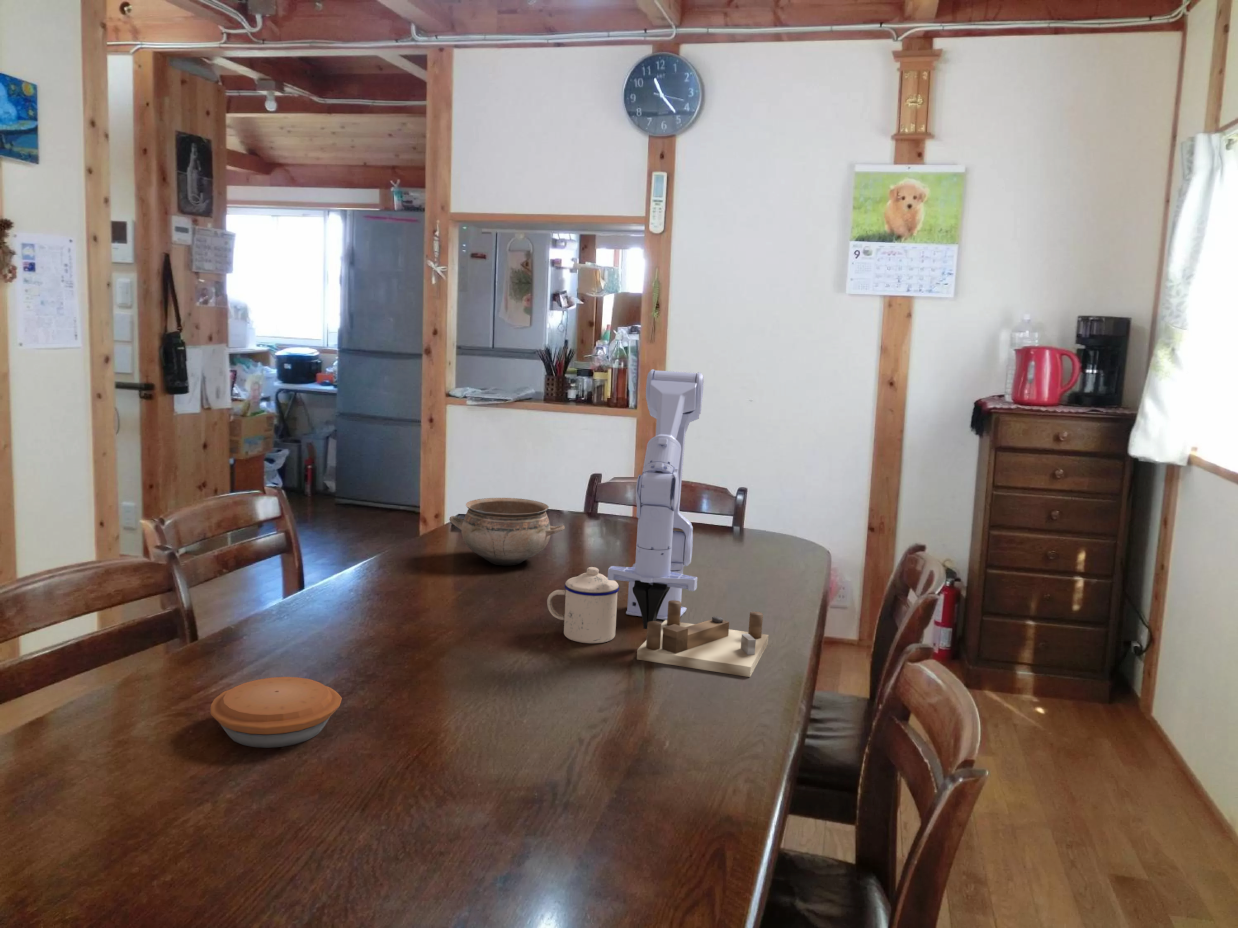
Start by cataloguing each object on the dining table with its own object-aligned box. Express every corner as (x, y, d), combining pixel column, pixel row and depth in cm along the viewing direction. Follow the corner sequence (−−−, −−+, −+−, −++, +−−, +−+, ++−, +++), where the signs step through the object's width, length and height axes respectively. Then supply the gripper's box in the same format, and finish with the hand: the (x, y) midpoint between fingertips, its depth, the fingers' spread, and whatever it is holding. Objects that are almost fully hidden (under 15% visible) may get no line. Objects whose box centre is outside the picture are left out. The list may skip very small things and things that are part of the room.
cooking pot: (571, 556, 222) (573, 502, 220) (553, 577, 204) (556, 518, 202) (461, 546, 226) (463, 493, 224) (434, 567, 207) (436, 508, 205)
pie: (266, 768, 116) (266, 727, 115) (183, 732, 124) (182, 694, 123) (366, 725, 128) (367, 688, 128) (285, 696, 137) (285, 660, 136)
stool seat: (636, 659, 158) (638, 624, 157) (664, 628, 174) (666, 597, 174) (750, 676, 153) (752, 641, 152) (767, 644, 169) (770, 611, 168)
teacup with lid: (620, 630, 172) (624, 564, 171) (611, 647, 163) (615, 577, 162) (552, 623, 174) (555, 557, 173) (539, 639, 165) (542, 570, 164)
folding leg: (714, 631, 169) (716, 611, 168) (728, 635, 167) (729, 615, 167) (661, 648, 159) (663, 627, 158) (675, 653, 157) (677, 631, 156)
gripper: (603, 545, 160) (599, 627, 162) (692, 556, 156) (686, 640, 158) (616, 537, 167) (612, 616, 169) (702, 547, 163) (696, 628, 165)
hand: (649, 627), depth 164 cm, fingers closed
